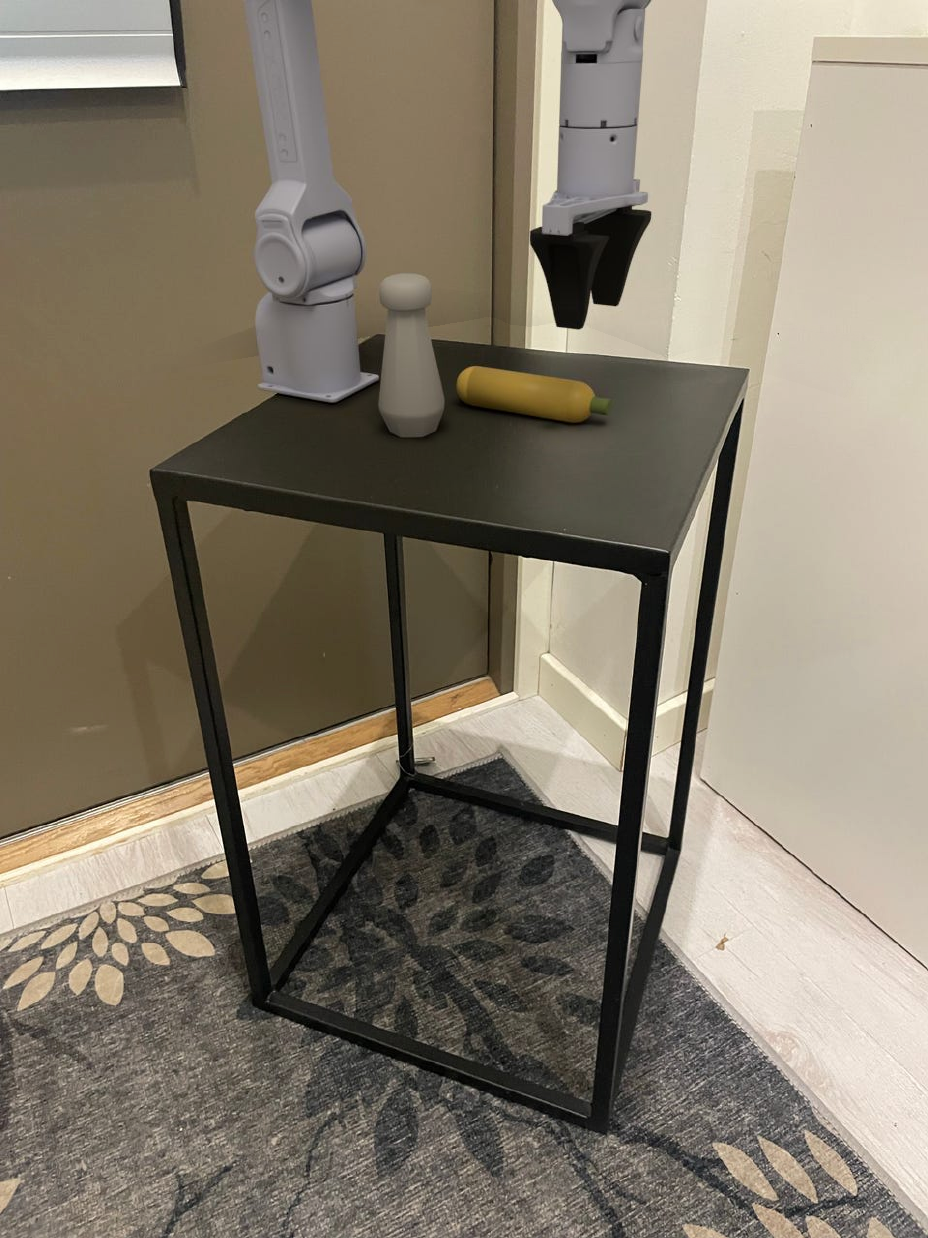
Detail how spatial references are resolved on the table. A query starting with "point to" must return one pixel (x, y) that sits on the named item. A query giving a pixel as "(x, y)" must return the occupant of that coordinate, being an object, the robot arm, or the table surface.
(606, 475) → the table surface
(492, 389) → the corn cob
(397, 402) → the salt shaker
